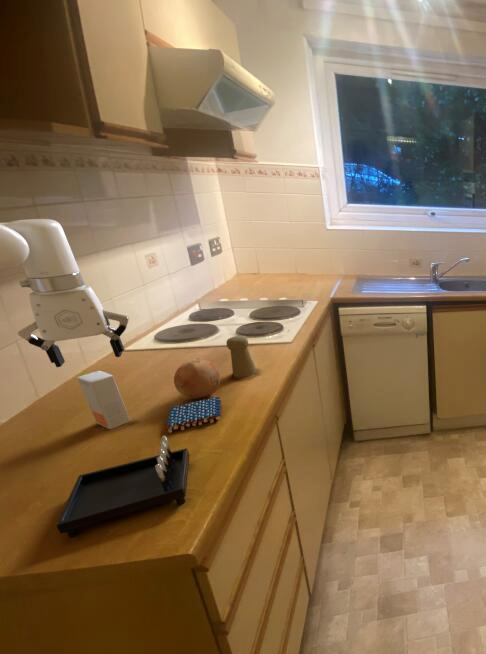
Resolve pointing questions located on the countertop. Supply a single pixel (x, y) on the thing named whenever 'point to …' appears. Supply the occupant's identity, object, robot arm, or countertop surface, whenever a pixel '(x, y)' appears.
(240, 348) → the pepper mill
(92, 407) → the cosmetic box
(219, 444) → the countertop surface
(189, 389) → the onion
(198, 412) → the woven mat
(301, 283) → the countertop surface
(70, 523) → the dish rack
